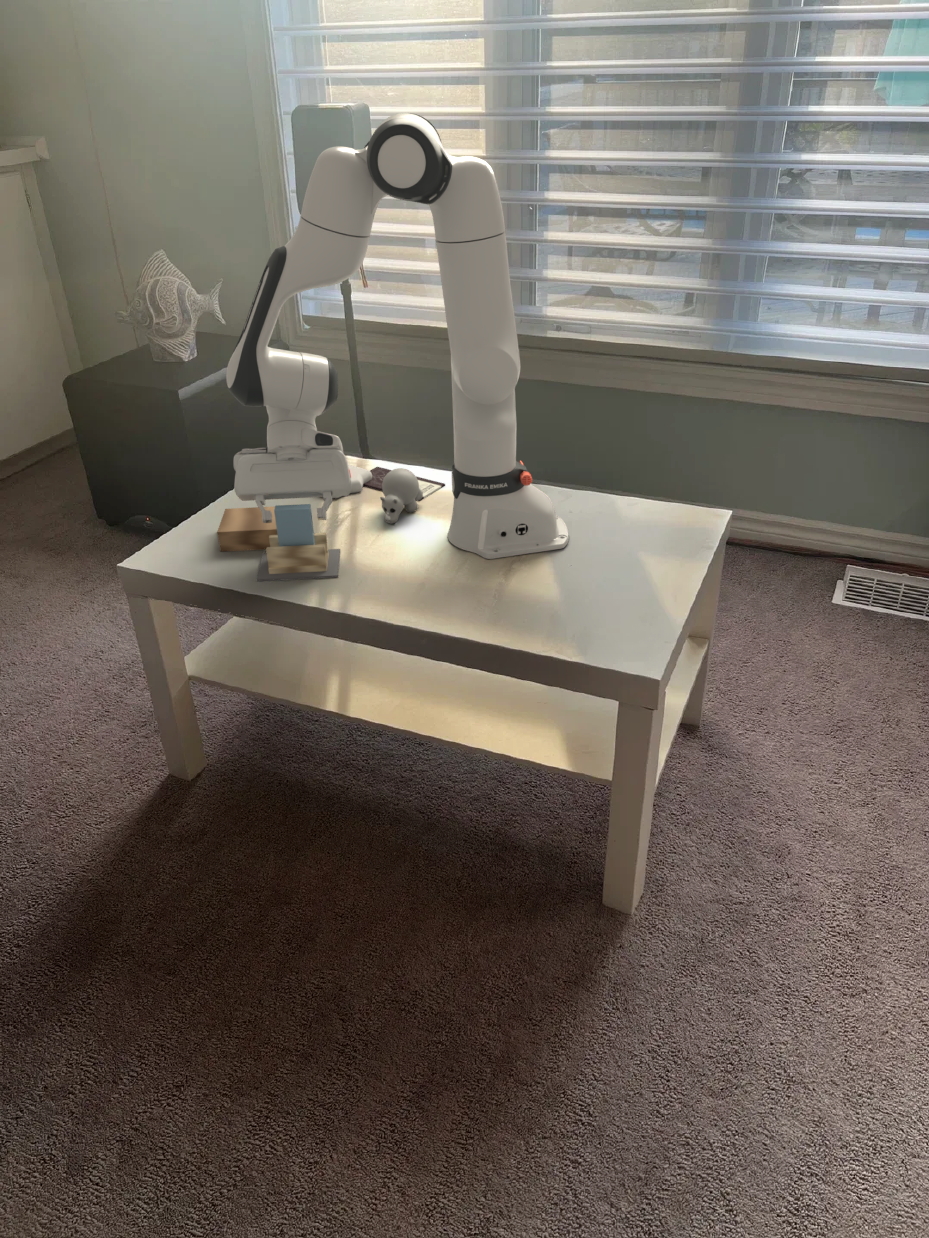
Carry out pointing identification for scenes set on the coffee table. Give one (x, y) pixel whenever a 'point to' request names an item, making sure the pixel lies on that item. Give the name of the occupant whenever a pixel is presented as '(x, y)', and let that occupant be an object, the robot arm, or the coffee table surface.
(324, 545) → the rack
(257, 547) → the block
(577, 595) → the coffee table surface
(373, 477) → the chocolate bar
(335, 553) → the mat
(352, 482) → the icon
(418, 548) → the coffee table surface
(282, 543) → the pale blue rectangular prism
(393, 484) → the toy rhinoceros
